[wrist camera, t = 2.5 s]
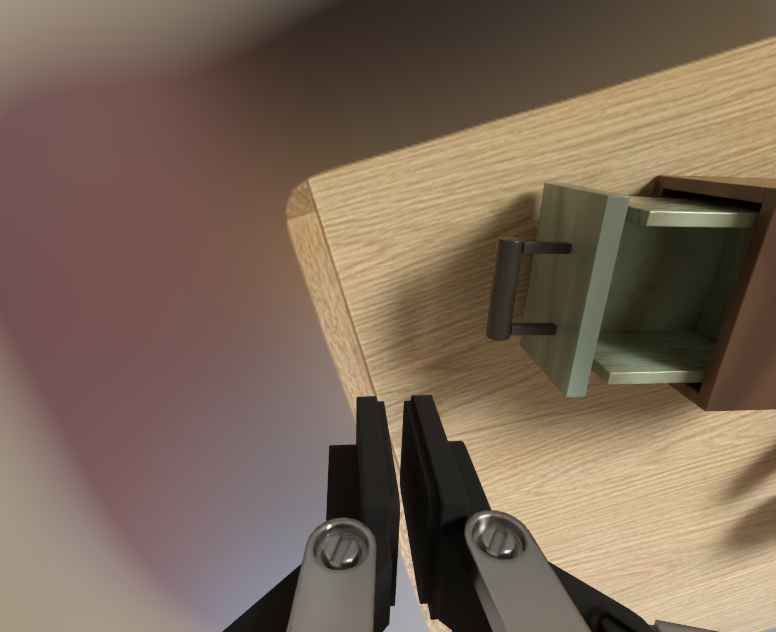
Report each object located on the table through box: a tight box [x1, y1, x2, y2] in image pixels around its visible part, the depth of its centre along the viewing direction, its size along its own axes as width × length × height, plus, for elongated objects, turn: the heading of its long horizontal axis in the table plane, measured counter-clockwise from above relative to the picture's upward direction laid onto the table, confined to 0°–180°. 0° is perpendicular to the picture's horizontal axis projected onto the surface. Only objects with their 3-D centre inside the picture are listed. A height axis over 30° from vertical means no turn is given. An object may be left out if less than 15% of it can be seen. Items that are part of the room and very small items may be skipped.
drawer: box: [486, 183, 762, 398], centre depth 27 cm, size 18×11×7 cm, turn 88°
